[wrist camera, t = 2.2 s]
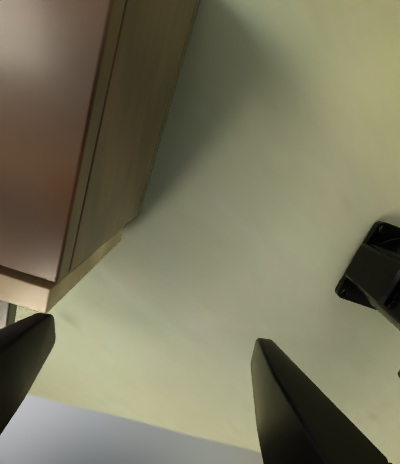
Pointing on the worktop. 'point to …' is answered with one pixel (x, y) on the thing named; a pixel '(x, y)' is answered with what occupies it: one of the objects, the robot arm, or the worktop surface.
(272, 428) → the robot arm
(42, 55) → the cabinet
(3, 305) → the drawer
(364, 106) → the worktop surface
